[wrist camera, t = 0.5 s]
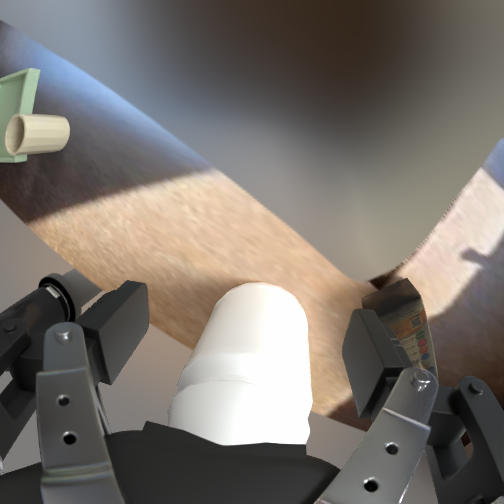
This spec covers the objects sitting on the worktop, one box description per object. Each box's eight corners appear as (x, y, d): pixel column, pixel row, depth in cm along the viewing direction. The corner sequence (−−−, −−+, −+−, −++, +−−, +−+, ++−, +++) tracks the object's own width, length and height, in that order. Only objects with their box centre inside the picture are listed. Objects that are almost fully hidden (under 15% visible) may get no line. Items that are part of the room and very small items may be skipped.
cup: (67, 152, 37) (23, 155, 28) (45, 151, 38) (2, 155, 28) (72, 115, 35) (28, 112, 26) (49, 117, 36) (7, 115, 26)
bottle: (320, 294, 39) (348, 483, 13) (290, 367, 44) (280, 532, 17) (222, 268, 40) (124, 432, 13) (206, 345, 44) (138, 498, 18)
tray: (26, 160, 39) (15, 162, 36) (-8, 160, 40) (-18, 162, 37) (40, 69, 33) (29, 67, 30) (3, 82, 34) (-7, 81, 31)
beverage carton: (389, 382, 43) (398, 408, 36) (357, 297, 39) (367, 321, 32) (429, 362, 41) (442, 386, 34) (405, 273, 37) (423, 292, 30)
